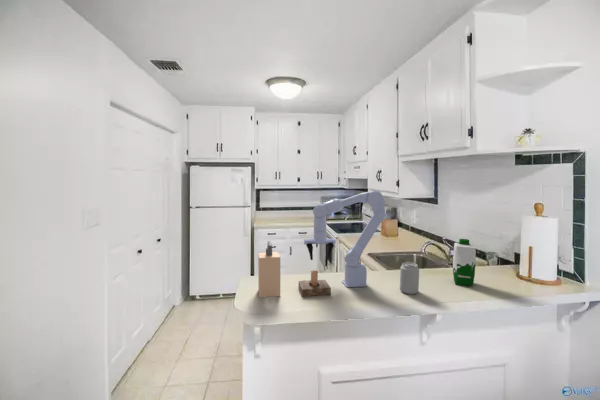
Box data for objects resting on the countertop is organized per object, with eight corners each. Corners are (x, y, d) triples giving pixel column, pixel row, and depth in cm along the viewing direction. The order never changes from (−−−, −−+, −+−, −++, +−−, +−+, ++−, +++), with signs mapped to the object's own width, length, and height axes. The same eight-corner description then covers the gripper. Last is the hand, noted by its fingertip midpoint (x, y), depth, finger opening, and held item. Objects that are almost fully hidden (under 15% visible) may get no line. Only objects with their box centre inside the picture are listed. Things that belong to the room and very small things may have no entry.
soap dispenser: (258, 289, 129) (258, 239, 127) (278, 288, 130) (278, 238, 129) (259, 301, 116) (259, 246, 115) (281, 300, 118) (281, 245, 116)
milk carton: (472, 281, 140) (474, 239, 139) (475, 288, 132) (477, 243, 130) (451, 279, 144) (453, 237, 142) (453, 285, 135) (455, 241, 134)
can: (409, 296, 122) (410, 267, 121) (395, 290, 129) (396, 263, 128) (422, 293, 126) (423, 265, 125) (408, 287, 132) (409, 260, 132)
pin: (316, 288, 129) (317, 270, 128) (317, 291, 126) (318, 272, 126) (310, 288, 129) (310, 270, 128) (311, 291, 126) (311, 272, 125)
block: (325, 286, 133) (325, 279, 133) (330, 295, 123) (330, 288, 123) (298, 287, 131) (298, 281, 131) (302, 296, 121) (302, 289, 121)
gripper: (333, 228, 143) (332, 256, 144) (303, 229, 141) (302, 257, 142) (337, 231, 136) (336, 260, 137) (305, 231, 134) (305, 261, 135)
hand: (319, 259), depth 139 cm, fingers open, 7 cm apart
